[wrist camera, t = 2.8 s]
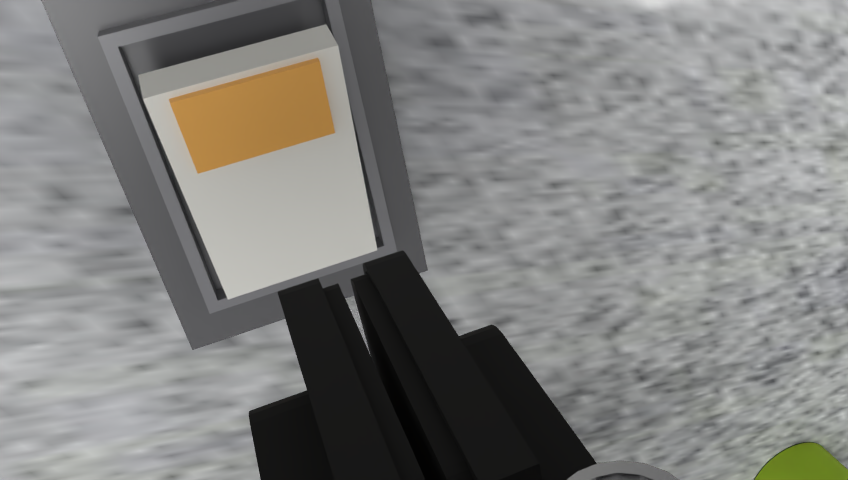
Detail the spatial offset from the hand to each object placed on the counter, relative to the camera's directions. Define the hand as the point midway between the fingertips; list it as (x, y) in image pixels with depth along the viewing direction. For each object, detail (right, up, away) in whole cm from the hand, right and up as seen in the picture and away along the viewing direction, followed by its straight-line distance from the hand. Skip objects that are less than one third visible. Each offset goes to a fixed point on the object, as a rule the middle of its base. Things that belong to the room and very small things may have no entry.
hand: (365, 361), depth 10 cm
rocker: (-4, +4, +13) cm, 14 cm away
